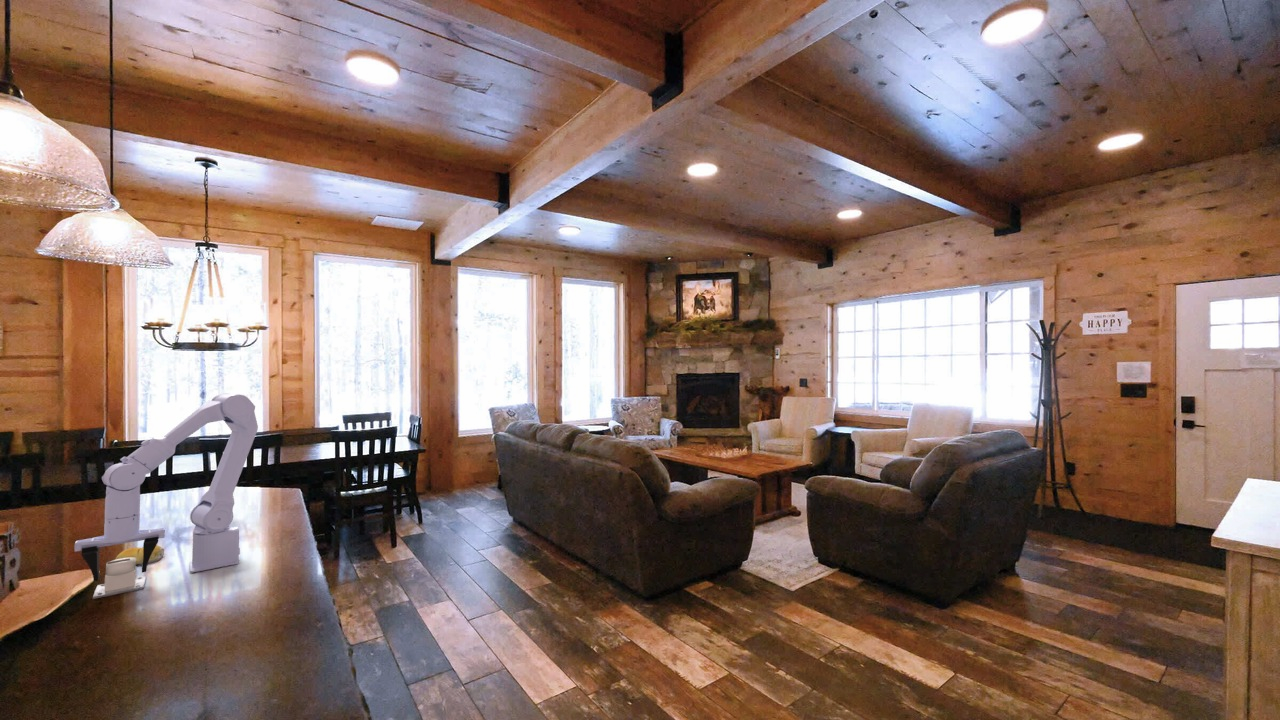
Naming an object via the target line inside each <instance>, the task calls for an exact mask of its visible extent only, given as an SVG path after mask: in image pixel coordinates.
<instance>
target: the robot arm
mask: <svg viewBox="0 0 1280 720" xmlns="http://www.w3.org/2000/svg"><path fill="white" fill-rule="evenodd" d="M255 410H256V405H255V404H254V402H252V400H250V398H249V397H248V396H246V395H244V394H239V393H237V394H231V393H220V394H216V395H215V396H213V398H212V399H211V400H208V401H205V402H204V403H203V404H202V405H201V406H199V407H198V408H197V409H196V410H194V411H193V412H192V413H191V414H190V415H188V416H187V417H186V418H184V419H183V421H181V422H180V423H179V424H177V425H176V426H175V427H174V428H172V429H171V430H170V431H169V432H168V433H166V434H165V435H164V436H158V437H152V438H151V439H145V440H143V441H142V442H141V443H140V445H141V446H140V447H139V448H137V449H136V450H134V451H133V452H132V453H130V454H129V455H128V456H123V457H121V458H120V459H119V460H120V461H121V462H118V463H115V464H112V465H111V466H109V467H107V469H106V470H105V472H104V474H103V475H102V476H101V480H102V482H103V484H104V485H105V486H106V487H105V488H106V489H105V498H104V499H105V500H104V525H103V526H104V529H103V530H104V531H103V532H104V533H103V535H100V536H96V537H92V538H91V537H90V538H86V539H79V540H76V541H75V543H74V552H81V554H80V556H81V557H82V558H83V560H84V561H85V562H86V563H87V565H88V567H89V569H90V571H91V574H92V577H93V582H99V580H100V572H101V571H100V549H101V548H102V547H109V546H115V545H122V544H128V543H133V542H142V541H143V546H142V547H143V564H142V565H141V573H146V572H147V570H148V569H147V567H148V564H149V563H148V561H149V558H150V556H151V554H152V552H153V550H154V548H155V547H156V545H158V543H159V539H164V538H165V537H166V527H162V528H152V529H141V530H140V521H141V520H140V518H141V485H143V483H144V481H145V479H146V476H147V475H149V474H151V473H152V472H153V471H154V470H155V469H157V468H158V467H159V466H160V465H162V464H163V463H164V462H166V461H167V460H168V459H170V458H171V457H172V456H173V455H174V454H175V453H176V447H177V445H178V444H180V443H181V442H184V440H186V439H187V438H189V437H190V436H191V435H193V434H195V433H196V432H198V430H200V429H201V428H204V426H206V425H207V424H210V423H215V422H219V421H221V422H222V421H224V422H225V424H226V425H227V426H228V428H229V429H230V431H231V433H230V436H229V438H228V441H227V443H226V446H225V448H224V450H223V453H222V455H221V458H220V461H219V463H218V465H217V468H216V470H215V473H214V476H213V477H212V479H211V480H212V481H211V483H210V486H209V488H208V490H207V491H206V492H205V493H204V494H203V495H202V496H201V498H200V500H199V502H198V504H197V505H195V507H193V509H192V510H191V511H190V514H189V519H190V522H191V523H192V524H194V525H195V527H194V529H193V530H192V553H191V554H192V556H191V557H192V559H191V562H189V573H191V574H192V573H197V572H198V573H199V572H202V571H208V570H212V569H217V568H222V567H223V568H224V567H227V566H233V565H237V564H240V563H239V562H240V561H239V558H240V557H239V556H240V554H241V550H240V549H241V548H240V528H239V526H230V525H231V524H232V522H233V521H234V511H233V510H234V505H235V498H234V493H235V490H236V487H237V485H238V482H239V478H240V476H241V474H242V472H243V469H244V466H245V463H246V460H247V458H248V456H249V453H250V451H251V448H252V446H253V443H254V440H255V437H256V435H257V432H258V431H259V430H258V428H259V425H258V421H257V416H256V412H255Z"/></svg>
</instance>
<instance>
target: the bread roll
mask: <svg viewBox="0 0 1280 720" xmlns="http://www.w3.org/2000/svg"><path fill="white" fill-rule="evenodd" d="M164 555H165V549H164V548H163V547H162V546H159V545H158V544H157V545H156V547H155V548H154V550H153V552H152V554H151V556H150V558H149V561H148V564H152V563H155V562H157V561H159V560H161V559H162V558H163V557H164ZM129 557H133V558H136V566H137V565H139V566H142V564H143V546H142V547H129V548H126V549H124V550H122V551H121V552H119V553H118V555H117V556H116V557H115V560H117V559H121V558H129Z"/></svg>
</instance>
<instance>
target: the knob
mask: <svg viewBox="0 0 1280 720" xmlns="http://www.w3.org/2000/svg"><path fill="white" fill-rule="evenodd" d="M136 578H137V565H136V558H133V557H129V558H121V559H117V560H116V559H113V560H111V561H107V562H106V565H105V575H104V584H105V591H110V590H115V589H120V588H125V587H130V586H135V582H136Z"/></svg>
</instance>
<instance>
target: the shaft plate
mask: <svg viewBox="0 0 1280 720" xmlns="http://www.w3.org/2000/svg"><path fill="white" fill-rule="evenodd" d="M146 579H147V577H146V576H145V575H144V576H140V577H139V576H138V577H136V582H135V586H130V587H125V588H120V589H115V590H110V591H105V583H102V584H97V586H96V588H95V590H94V593H93V596H92V600H95V599H99V598H104V597H105V598H106V597H110V596H115V595H120V594H123V593H130V592H133V591H134V592H135V591H140V590H144V589H145V583H146Z"/></svg>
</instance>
